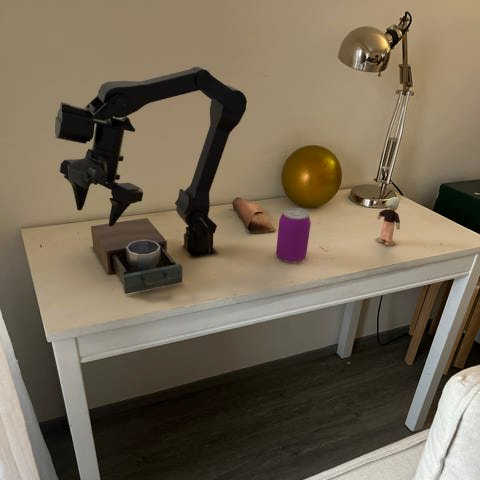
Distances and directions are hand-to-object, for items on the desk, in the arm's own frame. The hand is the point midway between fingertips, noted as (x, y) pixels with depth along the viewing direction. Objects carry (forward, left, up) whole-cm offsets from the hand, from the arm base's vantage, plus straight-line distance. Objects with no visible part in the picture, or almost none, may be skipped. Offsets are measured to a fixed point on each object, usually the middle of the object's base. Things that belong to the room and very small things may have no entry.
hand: (95, 218), depth 112 cm
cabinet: (-8, -3, -12) cm, 15 cm away
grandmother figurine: (-74, +15, -13) cm, 76 cm away
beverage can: (-45, +13, -13) cm, 48 cm away
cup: (-8, +9, -11) cm, 16 cm away
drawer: (-8, +10, -12) cm, 17 cm away
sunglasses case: (-47, -11, -13) cm, 50 cm away
